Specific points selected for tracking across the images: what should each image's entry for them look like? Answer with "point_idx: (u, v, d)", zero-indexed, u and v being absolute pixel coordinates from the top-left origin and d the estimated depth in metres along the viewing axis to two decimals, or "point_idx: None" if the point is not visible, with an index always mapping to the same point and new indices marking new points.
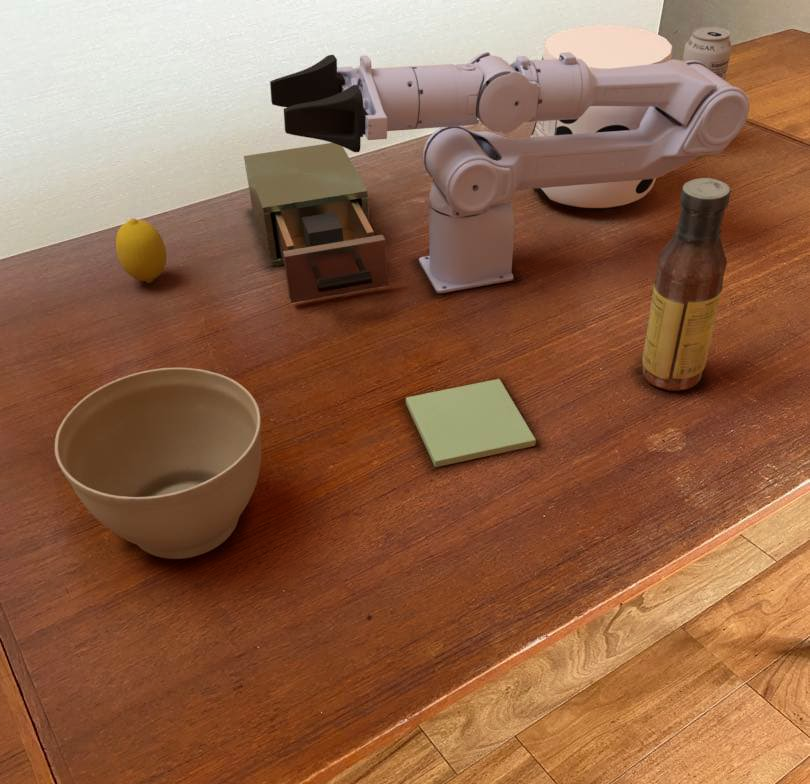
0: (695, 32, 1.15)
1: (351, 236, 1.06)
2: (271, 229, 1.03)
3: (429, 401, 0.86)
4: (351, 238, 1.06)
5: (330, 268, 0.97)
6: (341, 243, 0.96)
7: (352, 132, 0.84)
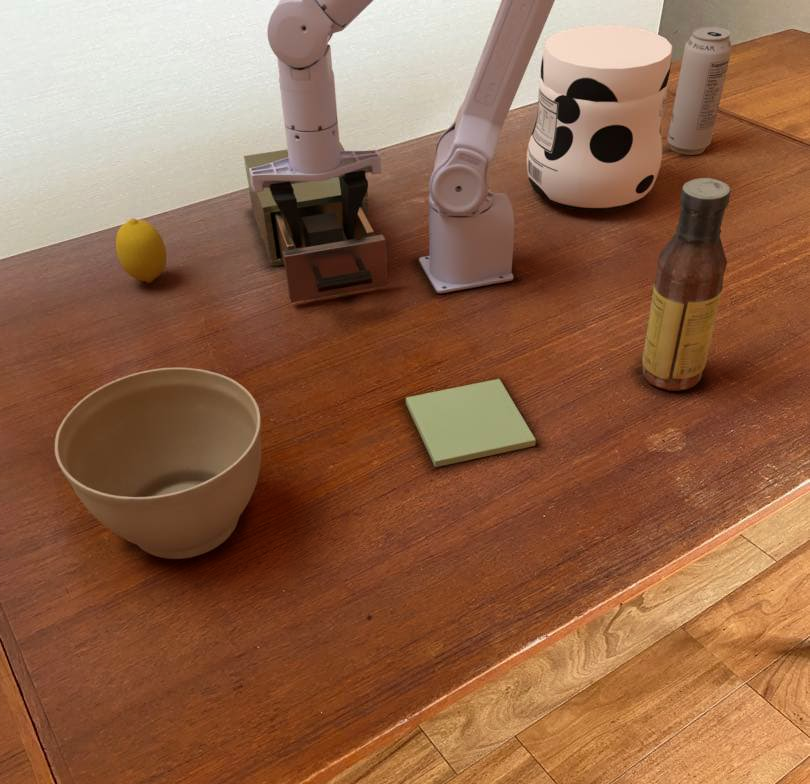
0: (695, 32, 1.15)
1: None
2: (271, 229, 1.03)
3: (429, 401, 0.86)
4: None
5: (330, 268, 0.97)
6: (341, 243, 0.96)
7: None
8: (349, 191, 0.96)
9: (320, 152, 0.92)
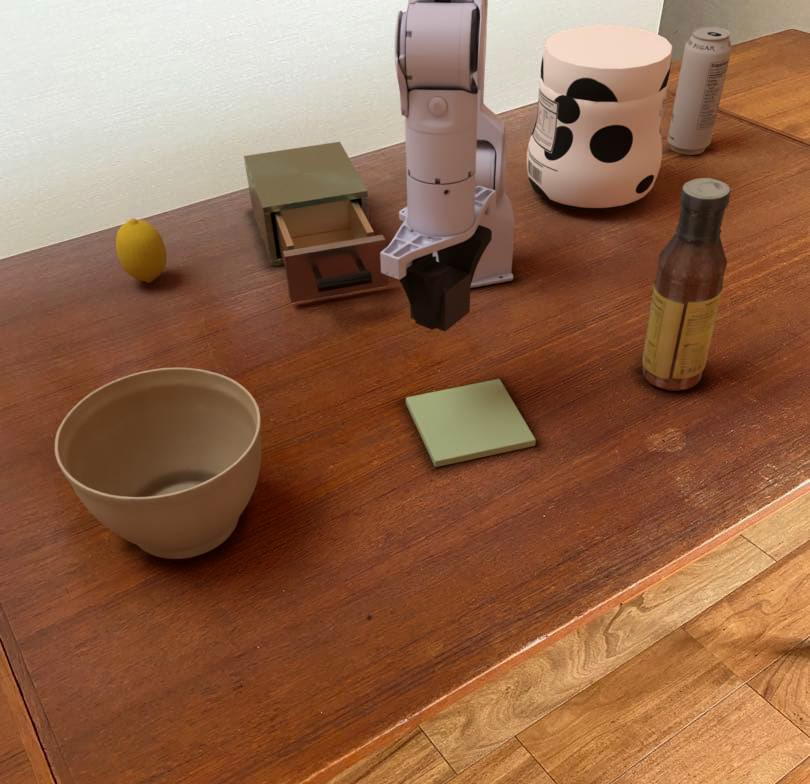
0: (695, 32, 1.15)
1: (351, 236, 1.06)
2: (271, 229, 1.03)
3: (429, 401, 0.86)
4: (351, 238, 1.06)
5: (330, 268, 0.97)
6: (341, 243, 0.96)
7: None
8: (480, 245, 0.76)
9: (470, 202, 0.72)
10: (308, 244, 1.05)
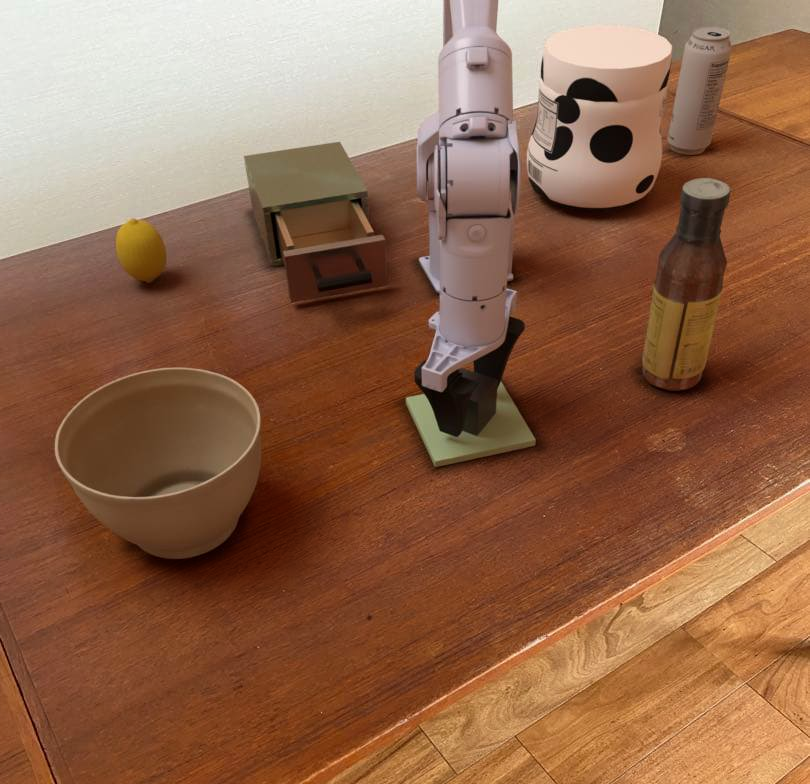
0: (695, 32, 1.15)
1: (351, 236, 1.06)
2: (271, 229, 1.03)
3: None
4: (351, 238, 1.06)
5: (330, 268, 0.97)
6: (341, 243, 0.96)
7: None
8: (516, 338, 0.80)
9: (502, 313, 0.74)
10: (308, 244, 1.05)
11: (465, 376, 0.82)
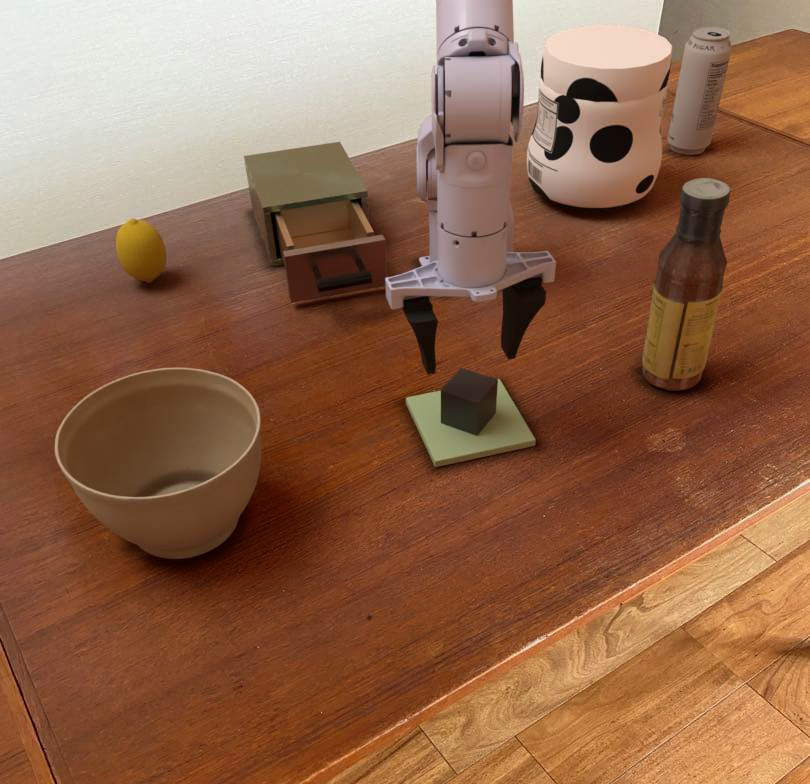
0: (695, 32, 1.15)
1: (351, 236, 1.06)
2: (271, 229, 1.03)
3: (429, 401, 0.86)
4: (351, 238, 1.06)
5: (330, 268, 0.97)
6: (341, 243, 0.96)
7: None
8: None
9: None
10: (308, 244, 1.05)
11: (465, 376, 0.82)
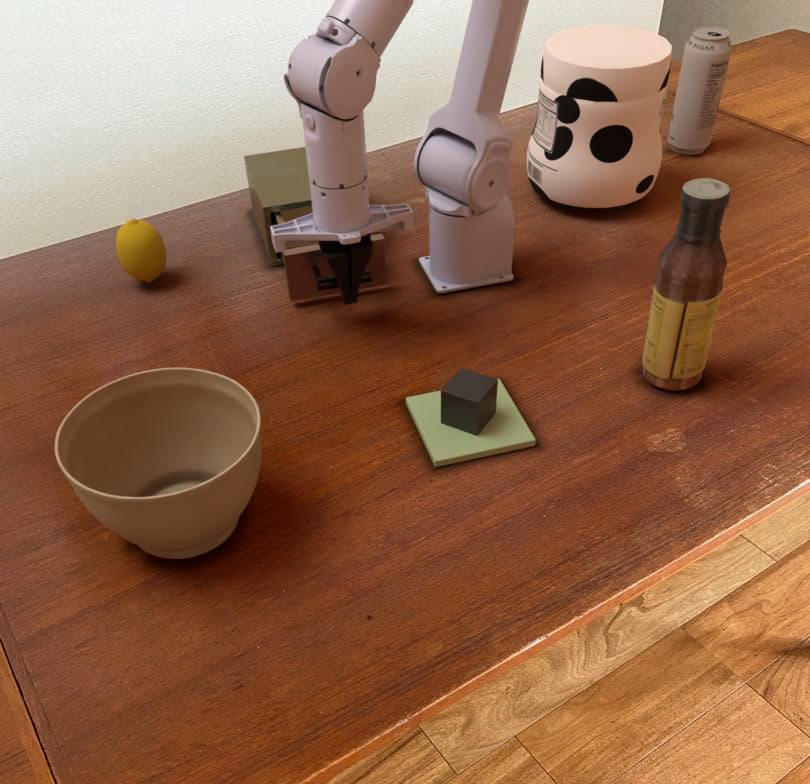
0: (695, 32, 1.15)
1: None
2: None
3: (429, 401, 0.86)
4: None
5: (330, 267, 0.97)
6: None
7: None
8: None
9: None
10: None
11: (465, 376, 0.82)
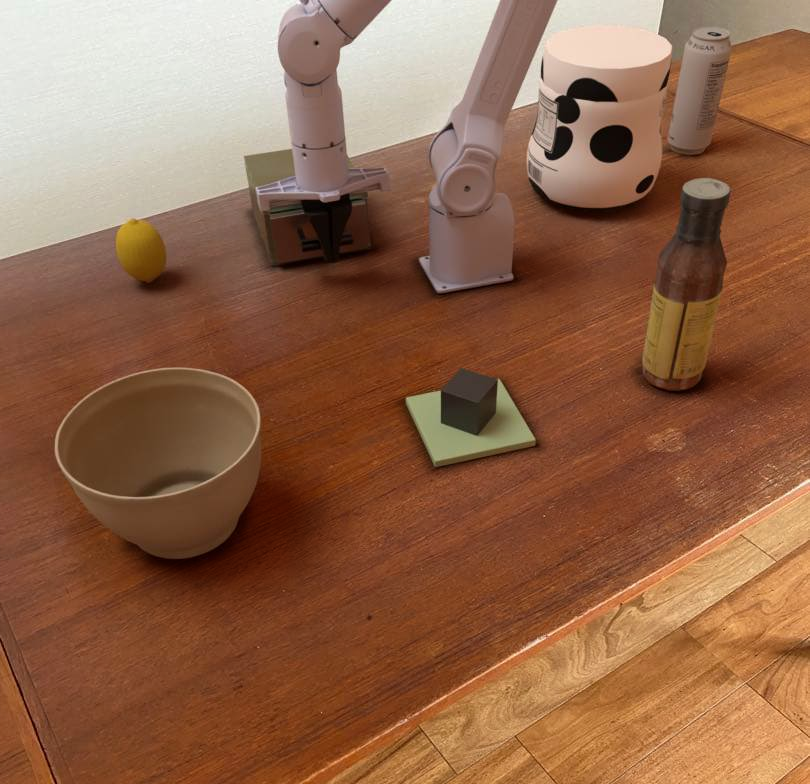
0: (695, 32, 1.15)
1: None
2: None
3: (429, 401, 0.86)
4: None
5: (314, 230, 1.03)
6: None
7: None
8: None
9: None
10: None
11: (465, 376, 0.82)
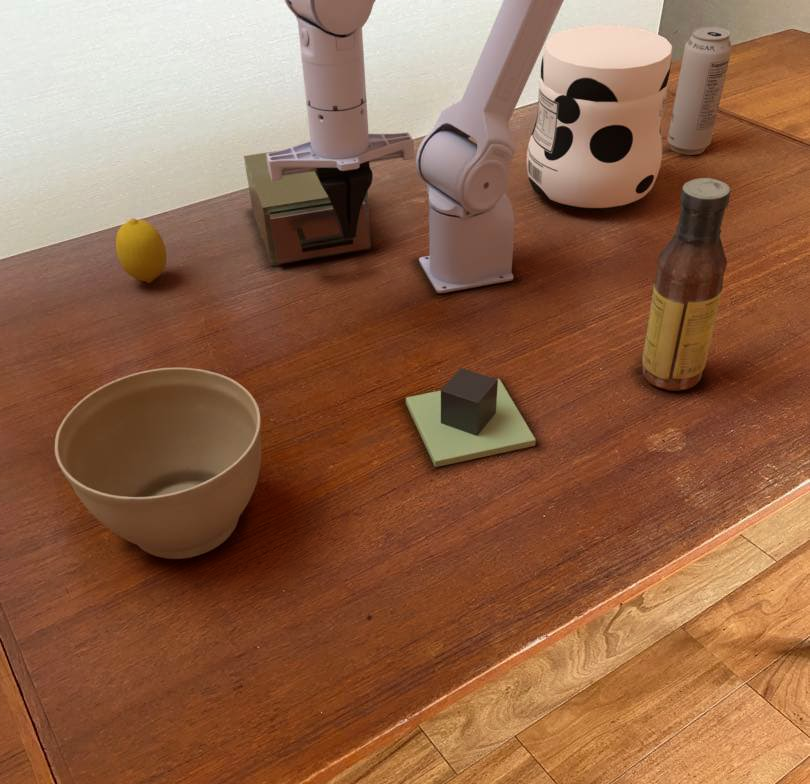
0: (695, 32, 1.15)
1: None
2: None
3: (429, 401, 0.86)
4: None
5: (314, 230, 1.03)
6: (324, 207, 1.02)
7: None
8: None
9: None
10: None
11: (465, 376, 0.82)
